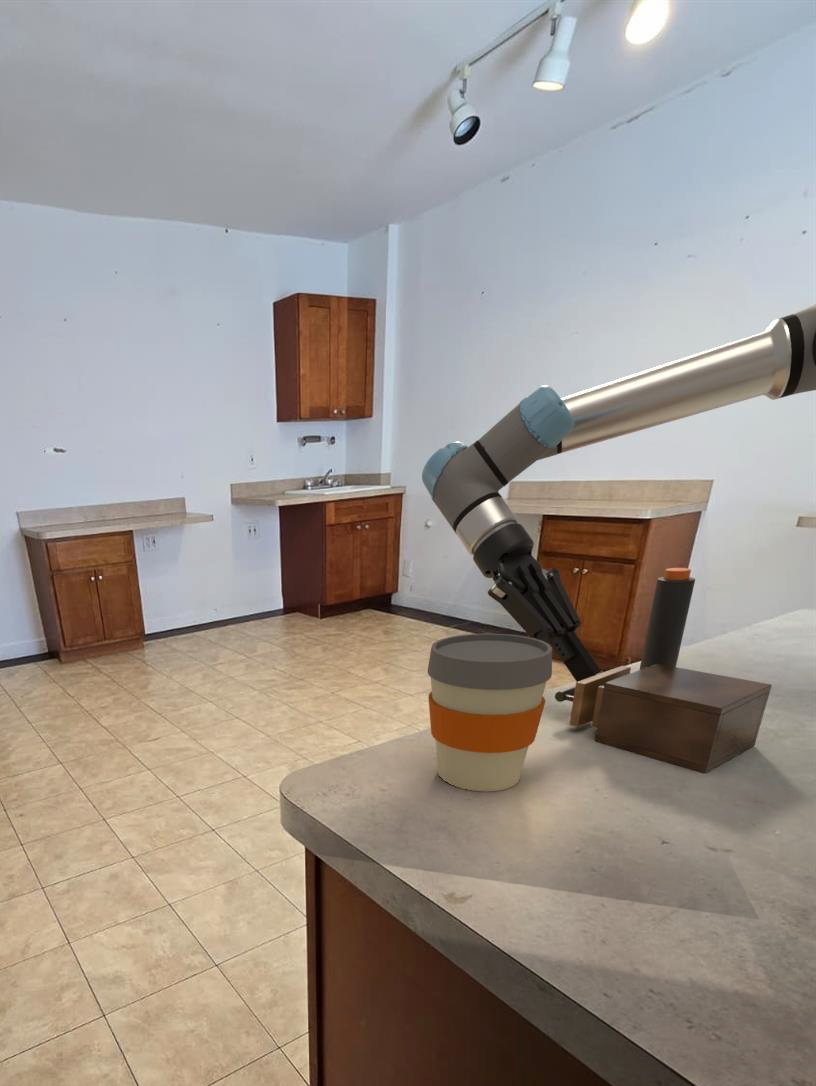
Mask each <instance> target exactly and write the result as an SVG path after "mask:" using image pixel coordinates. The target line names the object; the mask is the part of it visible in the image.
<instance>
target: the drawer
mask: <svg viewBox="0 0 816 1086" xmlns="http://www.w3.org/2000/svg"><path fill="white" fill-rule="evenodd" d="M631 670H632V667H631V666H626V665H621V666H618V667H614V668H612V669H609V670H606V671H604V672H600V673H598V674H596V675H595V676H592V677H589V678H587V679H584V680H581V681H578V682H576V681H575V685H573V686H571V687H569V688H568V687H567V688H565V689H562V690H559V691H557V692H555V695H554V699H555V700H556V701H557V702H559V703H562V702H565V701H567V702H568V701H569V702H572V705H571V711H570V719H569V726H572V727H577V728H579V727H581V726H584V725H586V724H588V723H591V727H592V728H596V729H597V724H598V718H599V712H600V707H601V701H602V695H603V690H604V684H605V683H606V682H609V681H611V680H614V679H617V678H619V677H622V676H625V675H628V674H630V673H631Z"/></svg>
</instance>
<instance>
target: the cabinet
mask: <svg viewBox="0 0 816 1086" xmlns="http://www.w3.org/2000/svg"><path fill="white" fill-rule="evenodd" d="M772 686H773V684H771V683H765V682H760V681H753V680H748V679H743V678H738V677H732V676H727V675H721V674H716V673H712V672H711V673H710V672H705V671H700V670H693V669H688V668H683V667H677V666H676V667H672V666H666V665H661V664H654V665H652V666H649V667H646V668H644V669H641V670H640V669H638V670H636V671H633V672H630V674H628V675H625V676H622V677H619V678H617V679H614V680H611V681H609V682H606V683H605V684H604V690H603V695H602V701H601V707H600V712H599V718H598V724H597V728H596V729H595V730H596V731H595V736H594V741H595V742H598V743H601V744H605V745H608V746H611V747H615V748H617V749H620V750H621V749H622V750H625V751H627V752H631V753H634V754H638V755H642V756H645V757H647V758H652V759H655V760H658V761H662V762H666V763H668V764H672V765H674V766H675V765H676V766H678V767H681V768H685V769H689V770H693V771H696V772H699V773H703V774H706V773H708V772H709V771H712V770H714V769H716V768H717V767H720V766H721V765H722V764H724V763H726V762H728V761H730V760H732V759H733V758H735V757H737V756H739V755H741V754H742V753H744V752H746V751H748V750H750V749H751V748H753V747H755V746H756V741H757V739H758V734H759V731H760V727H761V725H762V721H763V717H764V714H765V710H766V708H767V705H768V704H767V703H768V700H769V696H770V693H771V690H772Z"/></svg>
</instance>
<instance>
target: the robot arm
mask: <svg viewBox="0 0 816 1086" xmlns="http://www.w3.org/2000/svg"><path fill="white" fill-rule="evenodd" d="M812 391H813V392H814V391H816V304H815V303H814V304H813V305H811V306H810V307H809V306H808V307H807V308H804V309H802V310H800V311H797V312H795V313H791V314H789V315H786V316H782V317H780V318H777V319H774V320H773V321H772V322H771V323H770V324H769V326H767V328H766V329H765V331H763V332H760V333H757V334H754V335H750V336H748V337H745V338H742V339H738V340H736V341H731V342H729V343H726V344H723V345H720V346H717V347H714V348H711V349H709V350H708V349H707V350H705V351H702V352H699V353H695V354H692V355H690V356H687V357H683V358H681V359H678V360H677V359H676V360H674V361H671V362H667V363H665V364H662V365H659V366H656V367H653V368H650V369H646V370H644V371H640V372H638V373H634V374H631V375H628V376H625V377H621V378H619V379H615V380H613V381H610V382H606V383H604V384H600V385H598V386H594V387H592V388H588V389H585V390H582V391H579V392H576V393H572V394H570V395H566V396H564V397H561V396H560V395H559V394H558V393H557V391H556V390H554V389H553V387H552V386H550V385H547V384H543V385H541V386H539V387H538V388H536V389H535V390H534V391H533V392H531V393H530V394H529V395H528V396H526V397H524V398H523V399H522V400H520V401H519V403H517V405H515V406H514V407H513V408H512V409H511V410H510V411H509V412H507V413H506V415H504V416H503V417H502V418H501V419H500V420H499V421H498V422H497V423H495V424H494V425H493V426H492V427H491V428H490V429H489V430H488V431H486V432H485V433H484V434H483V435H482V436H481V437H480V438H479V439H478V440H476V441H474V442H473V443H472V444H470V445H469V446H468V445H466V444H465V443H464V442H462V441H453V442H450V443H447V444H446V445H445V446H444V447H442V448H439V449H437V450H436V451H435V452H433V454H432V455H431V456H430V457H429V459H428V460H427V461H426V463H425V465H424V466H423V469H422V472H421V480H422V483H423V485H424V487H425V488H426V490H427V492H428V494H429V495H430V496H431V500H432V502H433V503H434V504H435V506H436V507H437V509H438V510H439V511H440V512H441V515H442V516H443V517H444V519H445V520H446V521H447V523H448V524H449V527H450V528H452V530H453V531H454V533H455V534H456V536H457V537H458V538H459V541H461V544H462V545H463V546H464V548H465V549H466V551H467V553H468V554H469V555H470V556H472V557H473V558H472V560H473V562H474V564H475V565H476V566H477V568H478V570H479V571H480V573H481V574H482V576H484V578H486V579H492V580H493V582H494V584H493V585H492V586H491V587H490V588H489V589H487V595H488V596H489V597H491V599H493V600H495V601H496V602H497V603H499V604H500V605H501V606H502V607H503V609H505V611H506V612H508V614H509V615H510V616H511V618H513V620H514V621H515V622H516V623H517V624H518V625H519V626H520V628H522V629H523V631H524V632H525V633H526V634H527V635H528V637H530V638H535V639H538V640H541V641H544V642H546V643H548V644H549V645H551V647H552V650H554V652H555V654H556V655H557V656H558V658H559V659H560V660H561V662H562V663H563V664H564V665H565V667H566V668H567V670H568V671H569V673H570V675H571V676H572V677H573V678H574V680H575V683H576V682H578V681H581V680H584V679H587V678H589V677H592V676H595V675H598V674H600V673H602V670H601V668H600V667H599V665H598V664H597V663H596V661H595V660H594V659H593V657H592V655H591V654H590V652H589V651H588V650H587V648H586V646H585V645H584V644H583V643H582V640H581V639H580V637H579V636H578V635H577V633H576V630H578V629H579V628H580V627H581V624H582V621H581V619H580V617H579V615H578V613H577V611H576V609H575V607H574V604H573V603H572V601H571V599H570V596H569V595H568V593H567V591H566V589H565V587H564V585H563V583H562V580H561V574H560V571H559V569H558V568H556V567H552V568H551V569H550V570H547V569H545V568H543V567H542V564H541V563H540V562H539V561H538V560H537V559H536V558H534V556H533V553H532V552H533V549H534V546H535V543H534V542H535V541H534V540H533V538H532V537H531V536H530V534H529V533H528V532H527V530H526V529H525V527H524V525H523V524H521V523H519V518H518V517H517V515H516V514H515V512H514V511H513V510H512V509H511V507H510V506H509V504H508V503H507V502H506V501H505V499H504V498H503V496H502V495H501V494H500V490H501V489H503V488H504V487H507V485H508V484H509V483H510V482H511V481H513V480H514V479H515V478H516V477H518V476H520V474H521V473H523V472H524V471H526V470H527V469H528V468H530V467H531V466H532V465H533V464H535V463H536V462H537V461H540V460H544V459H547V458H551V457H554V456H557V455H560V454H563V453H567V452H570V451H574V450H577V449H582V448H584V447H588V446H591V445H594V444H598V443H602V442H605V441H608V440H612V439H615V438H619V437H622V436H626V435H629V434H632V433H636V432H639V431H643V430H646V429H650V428H654V427H656V426H660V425H663V424H667V423H671V422H674V421H677V420H681V419H686V418H689V417H692V416H696V415H698V414H702V413H705V412H709V411H712V410H716V409H719V408H723V407H726V406H729V405H734V404H736V403H741V402H744V401H748V400H751V399H754V398H758V397H761V396H765V397H767V398H768V399H770V400H772V401H775V400H778V399H782V398H785V397H786V398H787V397H789V396H793V395H797V394H798V395H799V394H802V393H807V392H812Z"/></svg>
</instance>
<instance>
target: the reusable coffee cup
mask: <svg viewBox="0 0 816 1086" xmlns="http://www.w3.org/2000/svg"><path fill="white" fill-rule="evenodd" d="M426 672H427V675H428V676H429V677H430V685H431V691H430V692H429V693H428V709H429V710H428V711H429V721H430V734H431V736H432V738H433V739H434V740H435V752H436V765H437V774H438V777H439V776H440V777H441V778H442V779H443V780H444V782H445V781H446V782H448V783H449V785H450V784H451V785H450V786H452V785H454V786H453V787H455V786H456V788H458V787H459V788H458V789H462V790H466V789H467V791H471V792H472V791H473V792H497V791H498V792H499V791H503V790H507V789H510V788H513V787H514V786H516V785H517V784H518V783H519V782H520V779H521V775H522V772H523V768H524V765H525V761H526V756H527V753H528V749H529V747H530V746H531V745H532V744H533V743H534V742H535V740H536V736H537V733H538V729H539V726H540V722H541V719H542V715H543V712H544V708H545V705H546V699H545V697H544V692H545V689H546V685H547V682H548V681H549V680H550V679H551V678H552V676H553V647H552V646H551V644H550V645H549V644H548V643H546V642H544V641H541V640H538V639H535V638H531V637H530V636H526V635H525V636H524V635H518V634H510V633H509V634H507V633H470V634H460V635H453V636H449V637H448V636H447V637H444V638H442V639H439V640H437V641H434V642H433V643H432V645H431V648H430V654H429V660H428V665H427V671H426ZM440 777H439V778H440ZM441 778H440V779H441ZM442 779H441V780H442ZM443 780H442V781H443ZM446 782H445V783H446ZM448 783H447V784H448Z"/></svg>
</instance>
